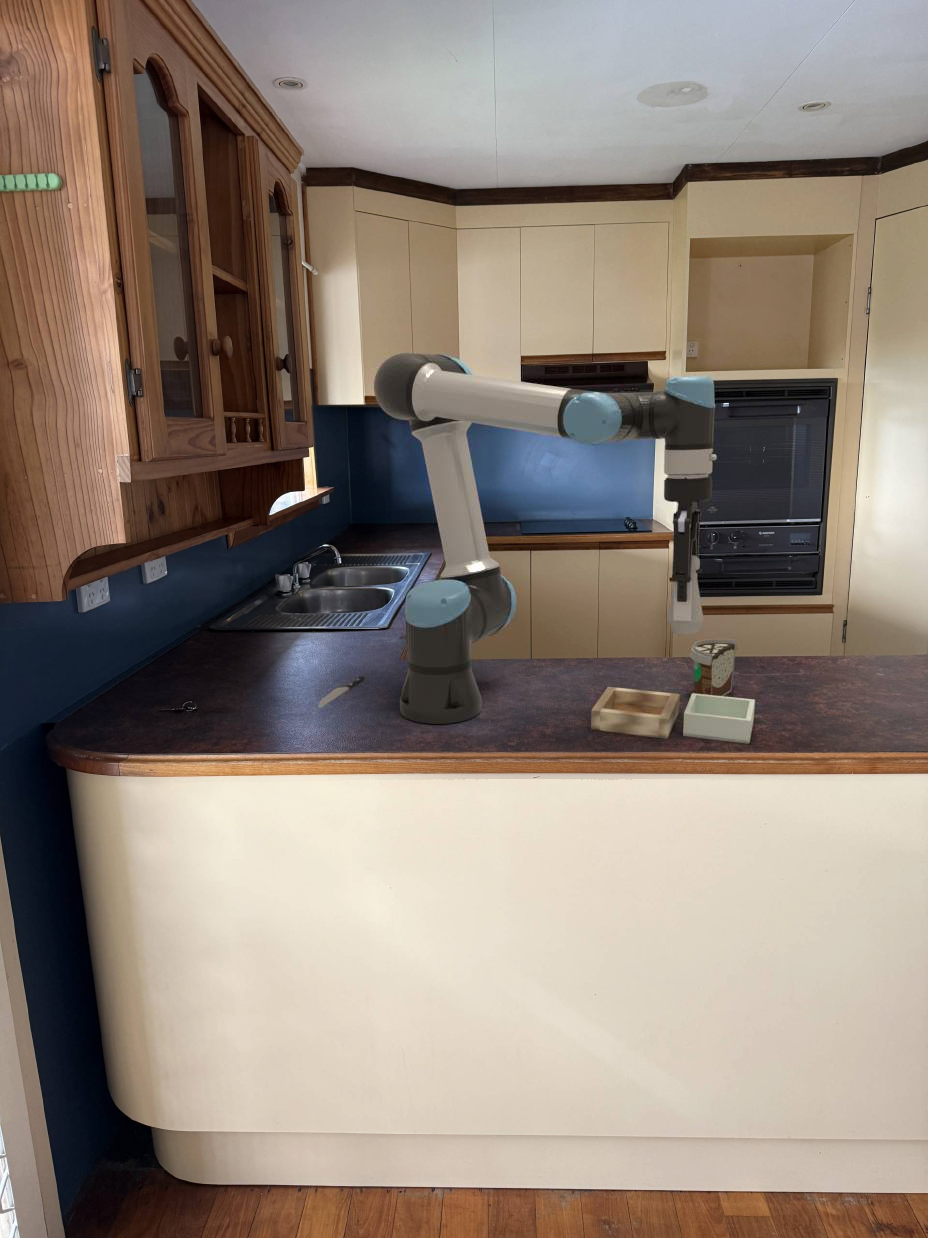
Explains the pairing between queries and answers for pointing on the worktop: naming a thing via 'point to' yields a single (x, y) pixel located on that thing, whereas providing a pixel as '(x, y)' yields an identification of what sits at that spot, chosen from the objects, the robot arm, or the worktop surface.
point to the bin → (719, 718)
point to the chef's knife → (338, 692)
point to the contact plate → (637, 709)
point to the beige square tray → (635, 721)
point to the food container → (713, 666)
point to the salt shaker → (696, 608)
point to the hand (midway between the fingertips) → (685, 615)
